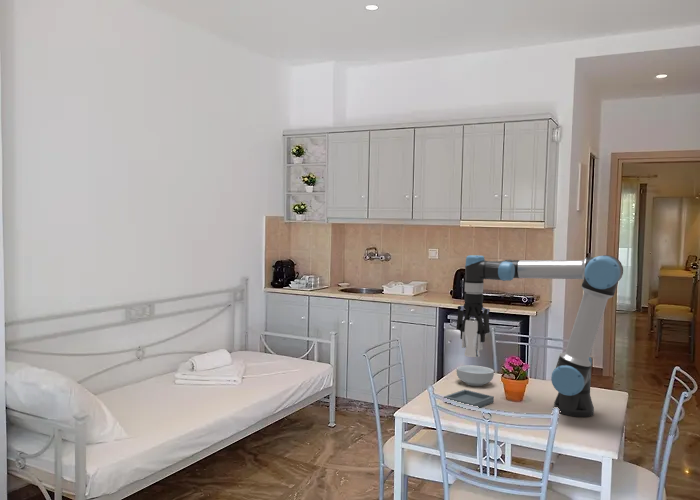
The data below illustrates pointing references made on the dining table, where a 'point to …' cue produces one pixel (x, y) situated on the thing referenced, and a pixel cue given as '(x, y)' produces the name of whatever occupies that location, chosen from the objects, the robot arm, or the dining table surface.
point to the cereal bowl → (475, 375)
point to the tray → (471, 398)
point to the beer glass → (471, 337)
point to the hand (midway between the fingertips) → (472, 348)
